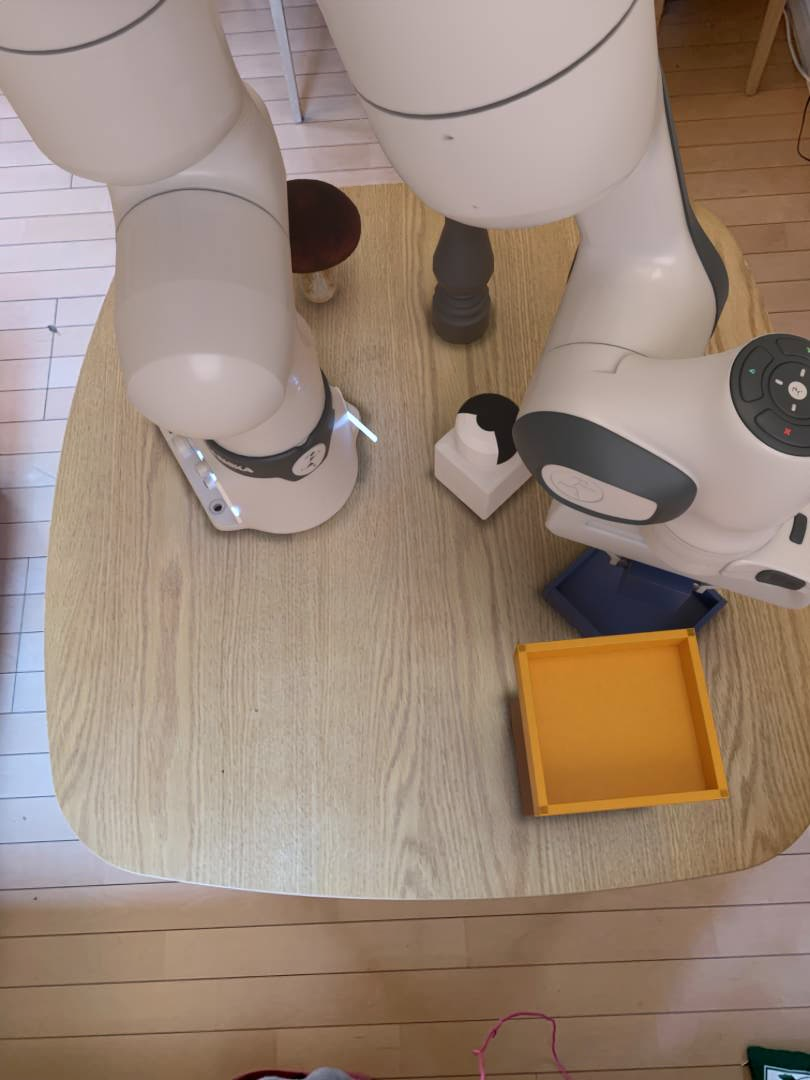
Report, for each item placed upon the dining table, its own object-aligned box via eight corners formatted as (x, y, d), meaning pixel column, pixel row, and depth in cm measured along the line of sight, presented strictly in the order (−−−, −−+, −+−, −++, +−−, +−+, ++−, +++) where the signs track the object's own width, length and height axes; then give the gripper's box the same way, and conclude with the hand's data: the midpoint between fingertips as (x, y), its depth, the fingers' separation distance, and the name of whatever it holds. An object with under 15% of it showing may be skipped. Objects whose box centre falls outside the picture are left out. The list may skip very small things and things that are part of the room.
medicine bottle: (481, 431, 87) (488, 368, 76) (533, 475, 85) (548, 418, 74) (432, 475, 86) (432, 419, 75) (484, 522, 84) (491, 471, 73)
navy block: (616, 593, 72) (628, 575, 67) (631, 541, 74) (644, 520, 69) (674, 612, 71) (690, 595, 67) (688, 559, 73) (705, 539, 68)
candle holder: (453, 286, 94) (459, 97, 70) (500, 314, 92) (523, 130, 69) (420, 326, 92) (416, 146, 68) (467, 354, 91) (480, 180, 67)
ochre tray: (511, 824, 74) (540, 815, 54) (495, 696, 78) (517, 644, 58) (650, 811, 74) (729, 797, 54) (628, 684, 78) (694, 627, 58)
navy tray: (541, 596, 81) (545, 586, 78) (622, 522, 83) (629, 510, 81) (636, 690, 78) (644, 684, 75) (718, 610, 80) (728, 601, 77)
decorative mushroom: (356, 244, 96) (343, 140, 82) (380, 323, 92) (370, 228, 78) (261, 266, 95) (232, 165, 81) (282, 347, 92) (254, 256, 77)
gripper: (545, 502, 59) (526, 565, 72) (847, 597, 55) (770, 644, 68) (571, 424, 61) (548, 499, 73) (864, 512, 57) (786, 574, 70)
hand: (657, 570), depth 71 cm, fingers closed on navy block, 5 cm apart
